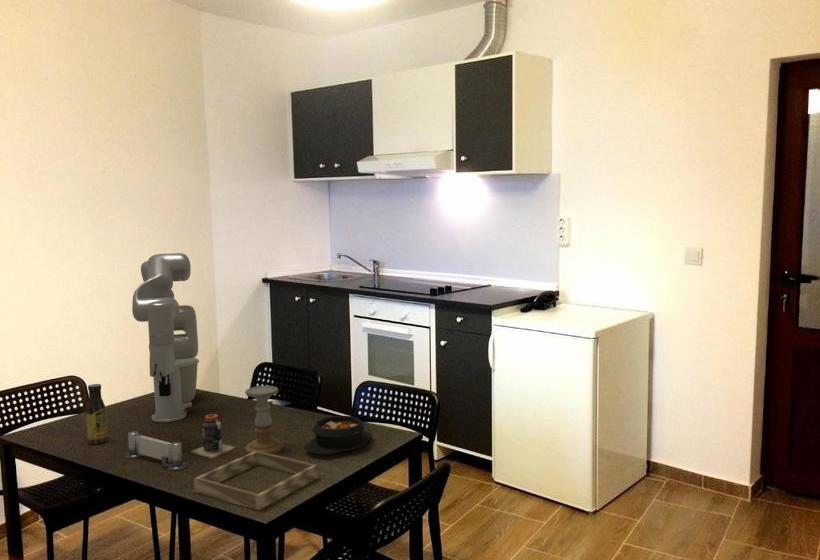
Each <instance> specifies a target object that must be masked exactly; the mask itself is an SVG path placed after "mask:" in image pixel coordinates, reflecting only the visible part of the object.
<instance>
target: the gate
mask: <svg viewBox="0 0 820 560" xmlns="http://www.w3.org/2000/svg"><path fill="white" fill-rule="evenodd" d="M171 443H172V442H169V441H165V440H161V439H158V438H154V437H149V436H146V435H143V434H138V435H137V436H136V444H137V453H138V454H143V456H147V457H150V458H154V459H158V460H161V461H162V459H161V457H163V456H164V457H168V463H169V462H172V454H171Z"/></svg>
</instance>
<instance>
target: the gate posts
mask: <svg viewBox="0 0 820 560" xmlns="http://www.w3.org/2000/svg"><path fill="white" fill-rule="evenodd" d="M137 435H139V431H137V430H134V431H133V430H132V431H129V432H128V433H127V441H128V452H125V453H124V458H125V459H138V458H140V457H143V456H144V455H143V454H138V453H137V444H136V436H137ZM170 443H171V454H172V461H171V463H169V462H168V457H164V456H163V457H161V459H162V460H161V459H160V460H161V467H162V468H165V469H167V470H168V471H173V472H175V471H177V472H178V471H182V470H185V469H187V468H188V462H186V461H183V452H182V450H183V449H182V441H174V442H173V441H172V442H170Z"/></svg>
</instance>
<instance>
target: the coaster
mask: <svg viewBox="0 0 820 560" xmlns="http://www.w3.org/2000/svg"><path fill="white" fill-rule="evenodd" d="M222 445H223V447H222V449H220V450H218V451H214V452H207V451H205V450H204V445H203V446H201V447H198V448H195V449H193V450H191V451H190V454H192V455H196V456H200V457H202V458H203V457H204V458H207V459H212V460H213V459H216V458H218V457H220V456H222V455H224V454H226V453H229V452H231V451H234V450H236V449H237V448H236V446H233V445H228V444H224V443H222Z"/></svg>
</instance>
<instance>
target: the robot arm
mask: <svg viewBox="0 0 820 560" xmlns="http://www.w3.org/2000/svg"><path fill="white" fill-rule="evenodd" d="M191 269H192V268H191V262H190V259H189V257H188V255H186V254H185V253H181V252H180V253H179V252H175V253H158V254H154V255H151V256H150V257H149V258H148V260H146V261H144V262H143V263H141V265H140V273H141V277H142V280H143V282H142V283H141V284H139V285H138V287H137V288H136V289H135V290H134V292H133V296H132V305H131V306H132V309H131V311H132V317H133V318H134V319H135V320H136V321H137V322H139V323H140V322H142V323H143V322H147V324H148V327H147V328H148V339H149V340H148V341H149V343H148V349H149V350H148V351H149V377H151V378H152V379H153V389H154V390H153V393H154V406H155V407H154V408H155V409H154V410H155V412H154V413H153V414H152V415H151V420H152V421H153V422H156V423H157V422H158V423H169V422H170V423H171V422H176V421H180V420H182V419H185V418H186V417H187V415H188V414H187V411H185V410H186V409H187V408H191V407H192V406H193V403H192V401H190V402H188V403H184V402H183V403H182V399H181V382H180V371H179V368H178V367H177V366H176V365H175V360H179V359H190V358H194V357H195V358H196V357H197V356H198V354H199V338H198V337H199V336H198V323H197V322H198V320H197V315H196V311H195V309H194V307H193V306H192V305H188V304H184V305H179V302H178V300H176V299H175V293H174V291H173V290H172V288H173V287H174V286H173V285H174V282H186V281H188V280H189V279H190V276H191ZM175 331H176V332H178V331H180V332H184V333H178V334H175V333H174V332H175Z"/></svg>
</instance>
